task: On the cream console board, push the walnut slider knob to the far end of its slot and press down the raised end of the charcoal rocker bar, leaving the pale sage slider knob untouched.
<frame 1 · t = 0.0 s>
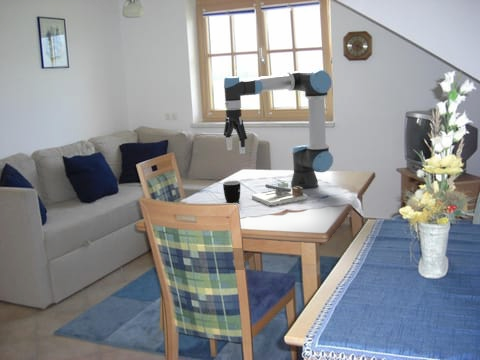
hand: (236, 151, 279), 28 cm above the table, fingers open, 13 cm apart
slider sage: (283, 185, 303), point 4 cm above the table, slide at 0.0 cm, touching console
rocker: (278, 187, 294), point 6 cm above the table, hinge at -18.0°
slider walnut: (297, 190, 290), point 4 cm above the table, slide at 0.0 cm
console: (279, 198, 294), on the table
mug: (232, 201, 296), on the table
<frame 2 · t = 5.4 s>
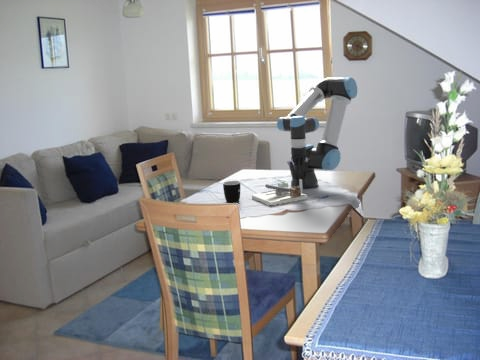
hand: (299, 191, 291), 4 cm above the table, fingers closed
slider walnut: (295, 191, 290), point 4 cm above the table, slide at 1.4 cm, touching gripper
everything else where it was.
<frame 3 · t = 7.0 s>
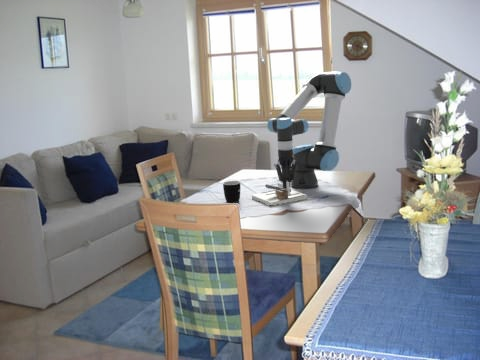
hand: (287, 194, 288), 4 cm above the table, fingers closed
slider walnut: (282, 193, 286), point 4 cm above the table, slide at 9.2 cm, touching gripper
everything else where it was.
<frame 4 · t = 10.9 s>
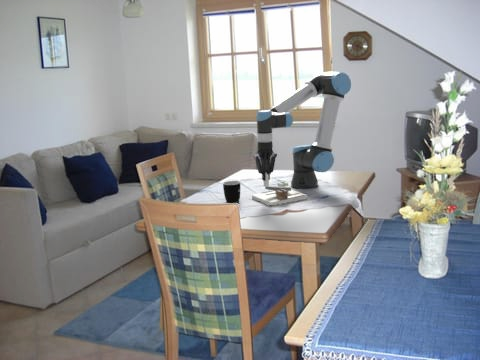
hand: (266, 186, 290), 8 cm above the table, fingers closed
rocker: (278, 187, 294), point 6 cm above the table, hinge at -11.6°, touching gripper
slider walnut: (282, 193, 286), point 4 cm above the table, slide at 9.5 cm
everything else where it was.
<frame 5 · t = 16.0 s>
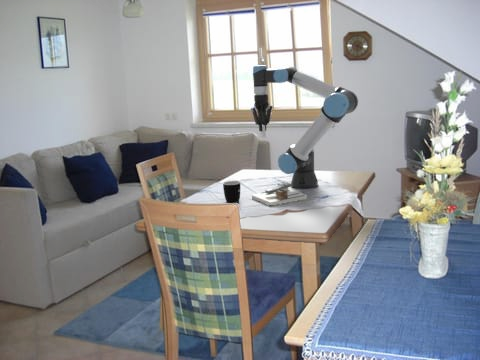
hand: (263, 136, 311), 29 cm above the table, fingers closed
rocker: (278, 187, 294), point 6 cm above the table, hinge at 8.2°
everything else where it was.
at the end: slider walnut slide at 9.5 cm; rocker at +8° (first picture: -18°); slider sage slide at 0.0 cm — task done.
